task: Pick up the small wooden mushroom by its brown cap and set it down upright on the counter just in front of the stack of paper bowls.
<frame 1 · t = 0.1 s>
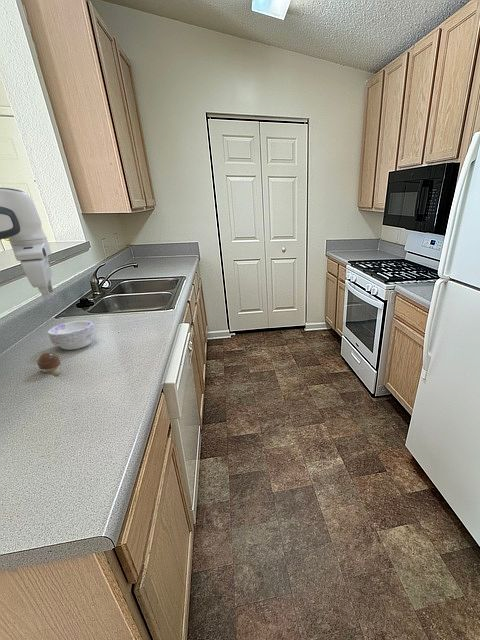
hand: (49, 295, 104), 25 cm above the counter, tool pointing down, fingers open, 8 cm apart
mushroom: (53, 374, 110), on the counter
paper bowls: (77, 345, 131), on the counter
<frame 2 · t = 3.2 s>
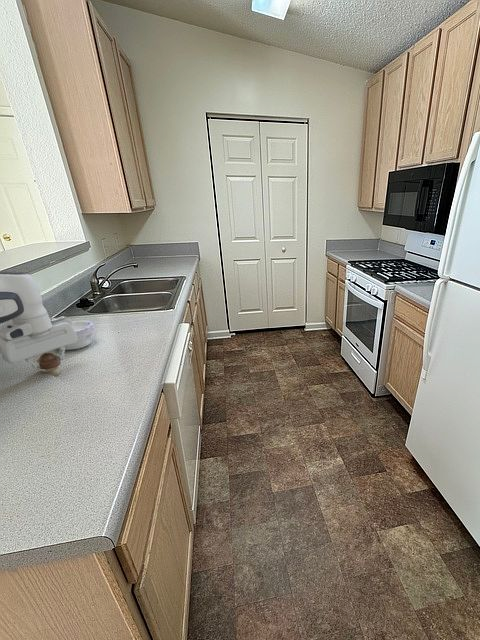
hand: (49, 363, 108), 4 cm above the counter, tool pointing down, fingers closed on mushroom, 6 cm apart
mushroom: (54, 374, 110), on the counter, touching gripper
everything else where it was.
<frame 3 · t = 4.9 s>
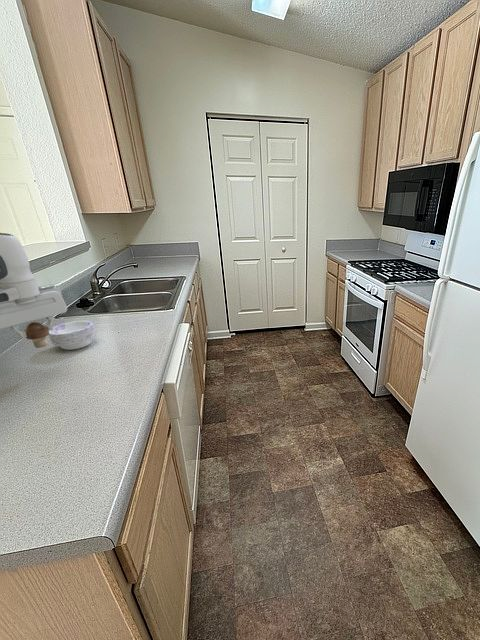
hand: (37, 334, 104), 14 cm above the counter, tool pointing down, fingers closed on mushroom, 6 cm apart
mushroom: (41, 345, 105), point 10 cm above the counter, touching gripper
everything else where it was.
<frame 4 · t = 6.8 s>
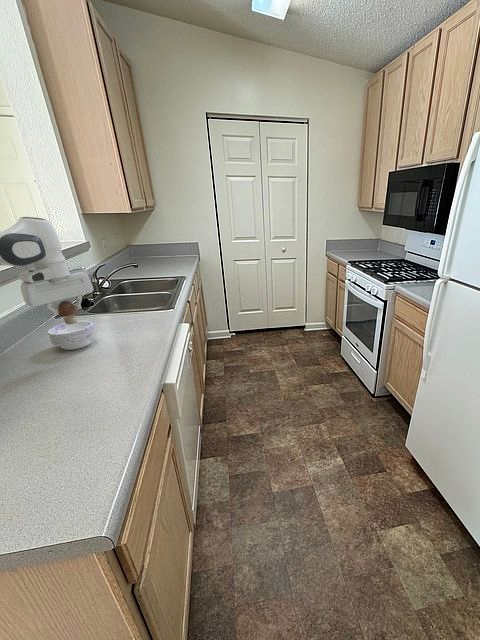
hand: (67, 311, 114), 17 cm above the counter, tool pointing down, fingers closed on mushroom, 6 cm apart
mushroom: (71, 322, 115), point 13 cm above the counter, touching gripper
everything else where it was.
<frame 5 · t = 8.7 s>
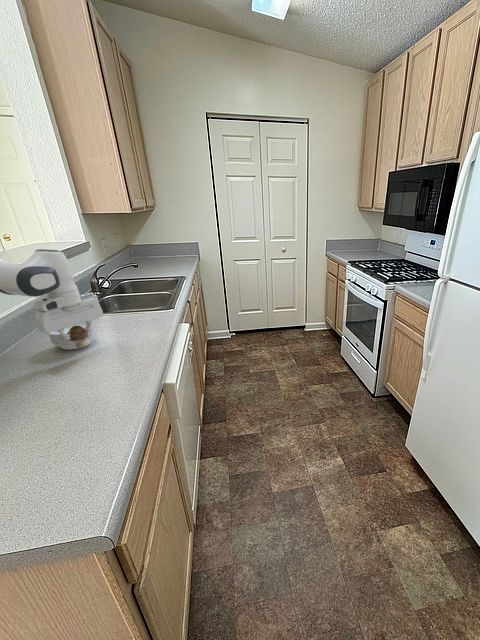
hand: (78, 336, 119), 8 cm above the counter, tool pointing down, fingers closed on mushroom, 6 cm apart
mushroom: (82, 346, 121), point 4 cm above the counter, touching gripper
everything else where it was.
when the fingers open (4 cm above the counter, at t = 10.2 s): mushroom stays where it is, on the counter.
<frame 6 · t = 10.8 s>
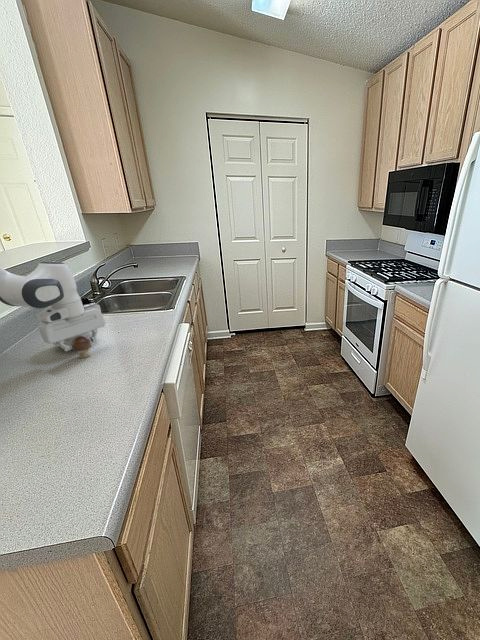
hand: (81, 345, 120), 4 cm above the counter, tool pointing down, fingers open, 8 cm apart
mushroom: (85, 356, 122), on the counter
everything else where it was.
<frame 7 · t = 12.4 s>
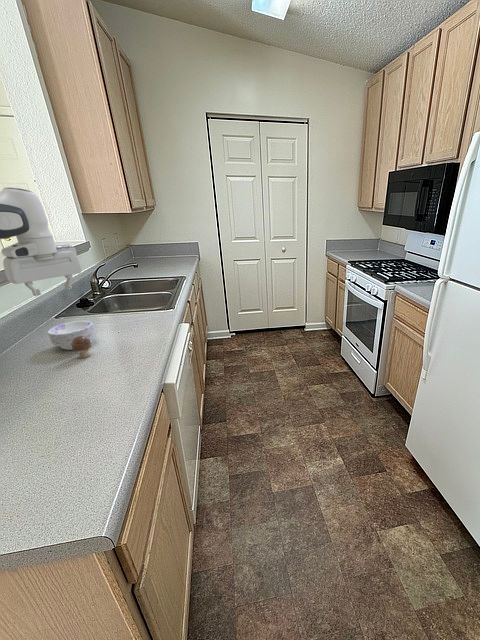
hand: (53, 291, 108), 25 cm above the counter, tool pointing down, fingers open, 8 cm apart
nothing on the counter moved.
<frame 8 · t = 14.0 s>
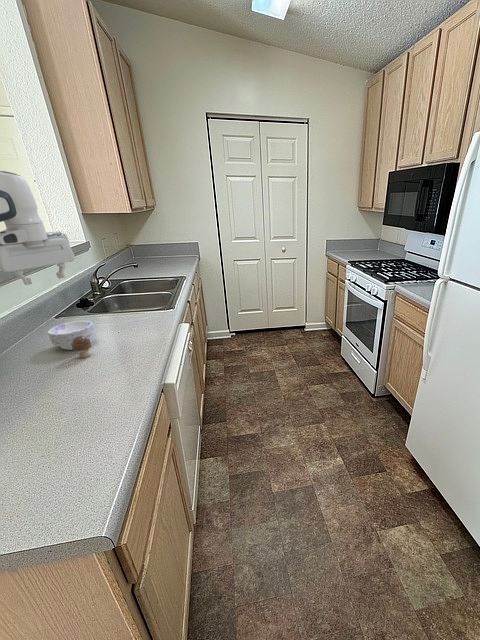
hand: (45, 281, 104), 29 cm above the counter, tool pointing down, fingers open, 8 cm apart
nothing on the counter moved.
at the end: mushroom inside the target area on the counter beside the paper bowls (0.1 cm from its centre), on the counter; mushroom tilted 0°; paper bowls moved 0.2 cm from its start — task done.
